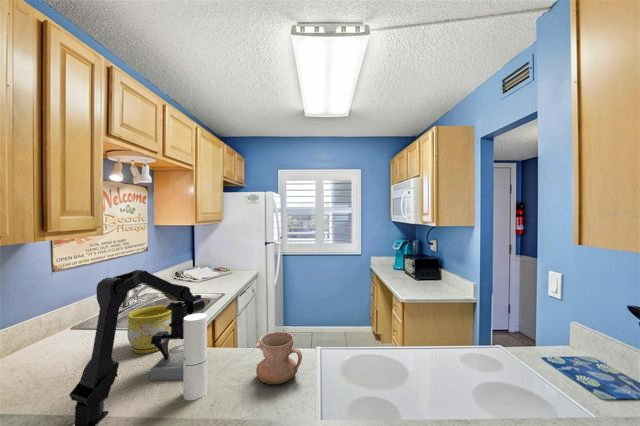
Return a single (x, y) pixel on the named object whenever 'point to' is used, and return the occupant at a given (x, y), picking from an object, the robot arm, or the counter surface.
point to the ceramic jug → (277, 358)
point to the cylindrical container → (195, 356)
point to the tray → (165, 371)
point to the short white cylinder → (176, 356)
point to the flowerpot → (147, 327)
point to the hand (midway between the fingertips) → (179, 359)
